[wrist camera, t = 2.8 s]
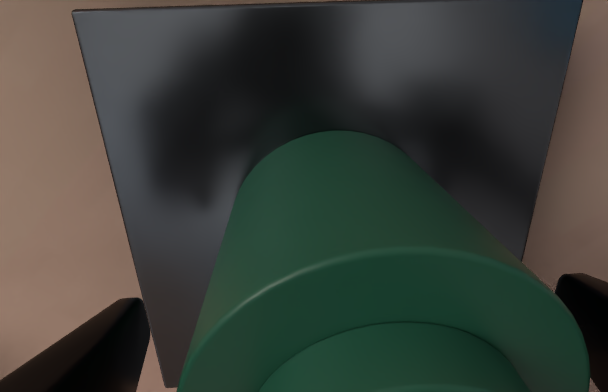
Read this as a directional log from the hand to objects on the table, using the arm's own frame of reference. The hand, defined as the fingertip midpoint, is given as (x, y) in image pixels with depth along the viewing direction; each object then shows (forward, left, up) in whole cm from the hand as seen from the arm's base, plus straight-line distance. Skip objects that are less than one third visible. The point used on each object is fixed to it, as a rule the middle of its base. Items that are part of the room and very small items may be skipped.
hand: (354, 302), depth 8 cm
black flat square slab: (0, 0, -5) cm, 5 cm away
